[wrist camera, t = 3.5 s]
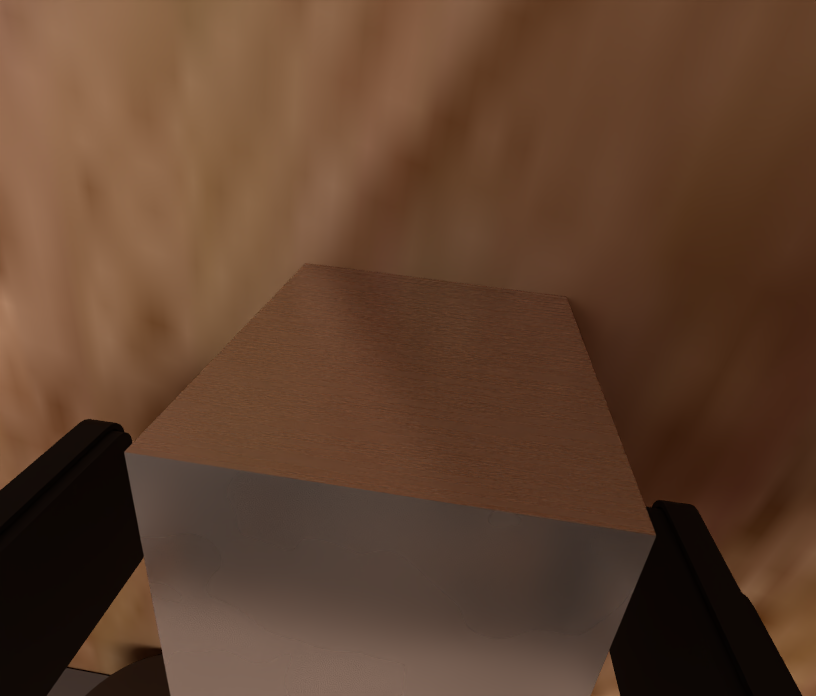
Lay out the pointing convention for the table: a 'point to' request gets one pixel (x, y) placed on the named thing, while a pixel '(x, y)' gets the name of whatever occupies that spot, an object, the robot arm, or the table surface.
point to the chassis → (116, 681)
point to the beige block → (390, 499)
